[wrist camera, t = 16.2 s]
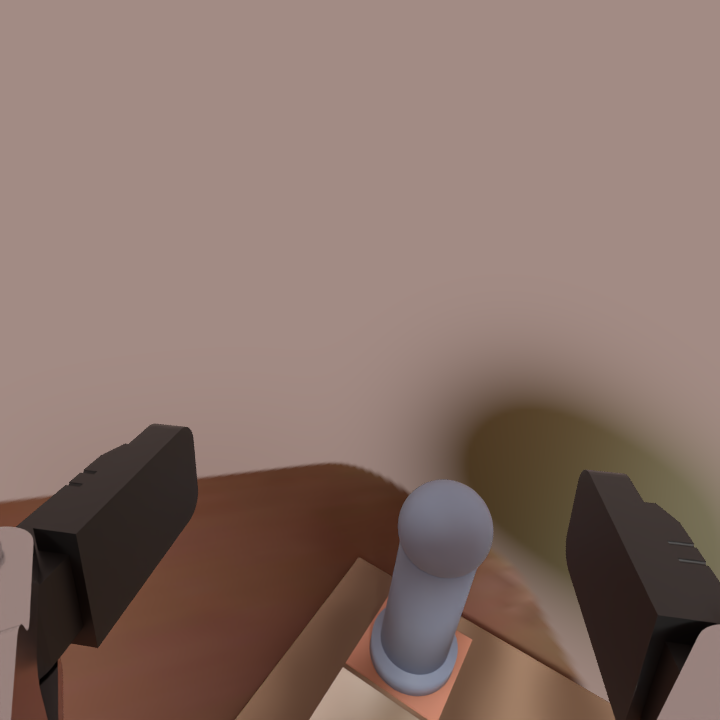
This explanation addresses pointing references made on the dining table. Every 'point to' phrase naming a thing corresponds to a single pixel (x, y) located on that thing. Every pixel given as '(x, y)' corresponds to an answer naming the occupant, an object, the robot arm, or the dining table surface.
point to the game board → (397, 710)
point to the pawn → (430, 585)
